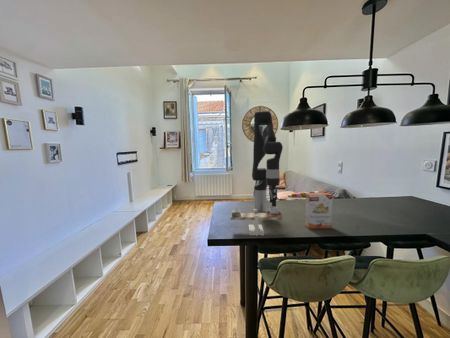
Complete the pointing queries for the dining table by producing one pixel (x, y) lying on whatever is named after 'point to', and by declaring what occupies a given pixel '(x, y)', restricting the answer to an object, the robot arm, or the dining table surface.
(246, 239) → the dining table surface
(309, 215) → the cracker box
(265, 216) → the beam
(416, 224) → the dining table surface
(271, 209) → the block
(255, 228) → the pivot stand
